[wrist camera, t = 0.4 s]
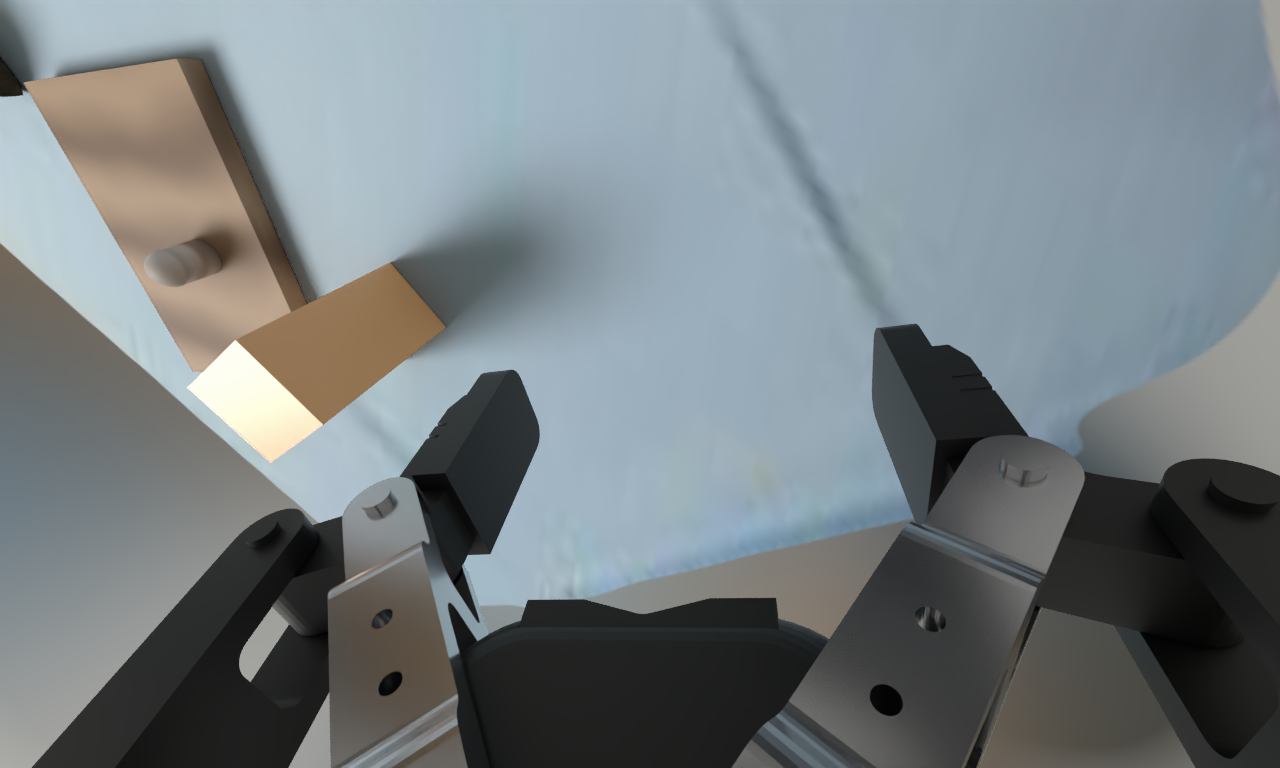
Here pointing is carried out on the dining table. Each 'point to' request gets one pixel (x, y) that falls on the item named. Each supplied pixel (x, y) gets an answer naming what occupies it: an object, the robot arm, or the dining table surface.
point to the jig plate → (174, 198)
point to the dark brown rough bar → (8, 82)
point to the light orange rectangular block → (316, 360)
